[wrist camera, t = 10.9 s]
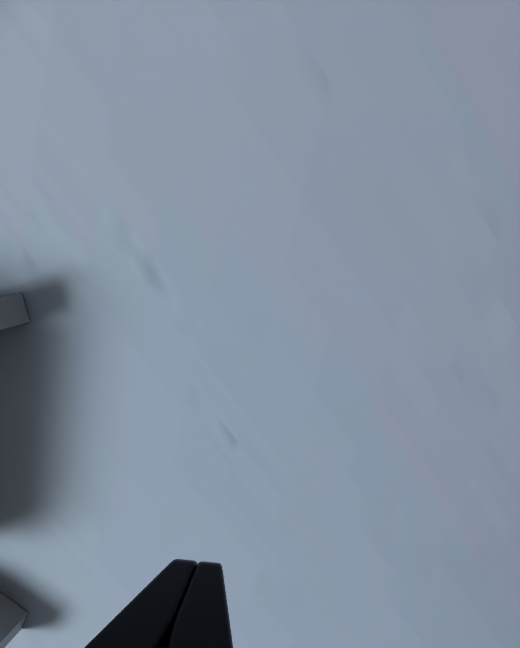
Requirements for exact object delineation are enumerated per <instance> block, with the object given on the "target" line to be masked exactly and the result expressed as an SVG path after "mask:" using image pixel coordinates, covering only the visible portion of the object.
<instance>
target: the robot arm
mask: <svg viewBox="0 0 520 648" xmlns="http://www.w3.org/2000/svg"><path fill="white" fill-rule="evenodd" d="M85 648H233V643H232V636H231V629H230V621H229V614H228V606H227V599H226V592H225V584H224V577H223V570H222V566H221V564H220V563H212V562H200V563H198V564H197V562H195V561H192V560H182V559H175V560H173V561H172V562H171V563H170V564H169V565H168V566H167V567H166V568H165V569H164V570H163V571H162V572H161V573H160V574H159V575H158V576H157V577H156V578H154V579H153V580H152V581H151V582H150V583H149V584H148V585H147V586H146V587H145V588H144V589H143V590H142V591H141V592H140V593H139V594H138V595H137V596H136V597H135V598H134V599H133V600H132V601H131V602H130V603H129V604H128V605H127V606H126V607H125V608H124V609H123V610H122V611H121V612H120V613H119V614H118V615H117V616H116V617H115V618H114V619H113V620H112V621H111V622H110V623H109V624H108V625H107V626H106V627H105V628H104V629H103V630H102V631H101V632H100V633H99V634H98V635H97V636H96V637H95V638H94V639H93V640H92V641H91V642H90V643H89V644H88V645H87V646H86V647H85Z"/></svg>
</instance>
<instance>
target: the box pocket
mask: <svg viewBox="0 0 520 648" xmlns="http://www.w3.org/2000/svg"><path fill="white" fill-rule="evenodd" d="M28 322H30V319H29V316H28V313H27V309H26V306H25V302H24V299H23V296H22V293H18V294H12V295H6V296H1V297H0V330H2V329H5V328H9V327H13V326H17V325H21V324H24V323H28ZM27 614H28V612H27V611H25V610H24V609H23V608H21V607H20V606H18V605H17V604H16V603H14V602H13V601H11V600H10V599H9V598H7V597H6V596H4V595H3V594H2V593H0V648H4V647H5V646H6V645H7V644H8V643H9V642H10V641H11V640H12V639H13V638H14V637H15V635H16V634H17V633H18V632H19V631H20V630H21V628H22V626H23V624H24V621H25V619H26V617H27Z"/></svg>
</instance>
